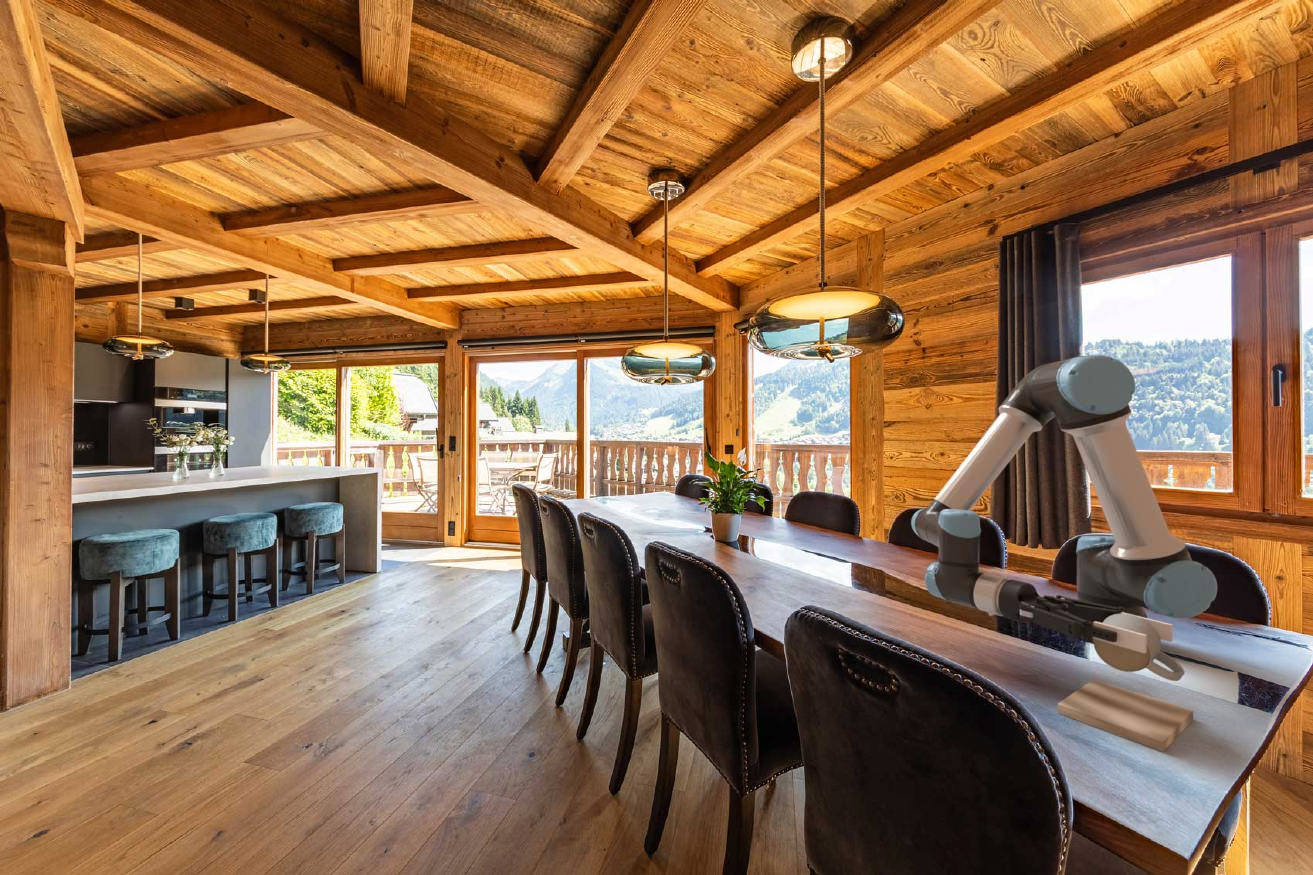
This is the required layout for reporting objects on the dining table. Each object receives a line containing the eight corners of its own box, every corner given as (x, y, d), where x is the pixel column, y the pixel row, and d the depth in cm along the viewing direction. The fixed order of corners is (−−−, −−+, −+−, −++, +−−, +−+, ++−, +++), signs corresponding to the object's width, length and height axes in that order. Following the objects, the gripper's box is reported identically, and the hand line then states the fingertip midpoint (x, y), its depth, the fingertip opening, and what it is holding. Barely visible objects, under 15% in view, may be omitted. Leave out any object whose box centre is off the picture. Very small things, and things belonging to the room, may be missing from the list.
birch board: (1093, 687, 97) (1093, 678, 97) (1193, 719, 86) (1193, 710, 86) (1057, 712, 88) (1057, 703, 88) (1162, 752, 77) (1163, 741, 77)
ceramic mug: (1090, 664, 87) (1092, 618, 86) (1100, 651, 92) (1102, 607, 92) (1181, 690, 79) (1183, 639, 78) (1186, 673, 84) (1188, 626, 84)
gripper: (1036, 608, 108) (1186, 649, 88) (973, 626, 98) (1127, 676, 78) (1037, 572, 108) (1187, 604, 88) (974, 586, 97) (1128, 626, 78)
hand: (1159, 638), depth 83 cm, fingers closed on ceramic mug, 9 cm apart
